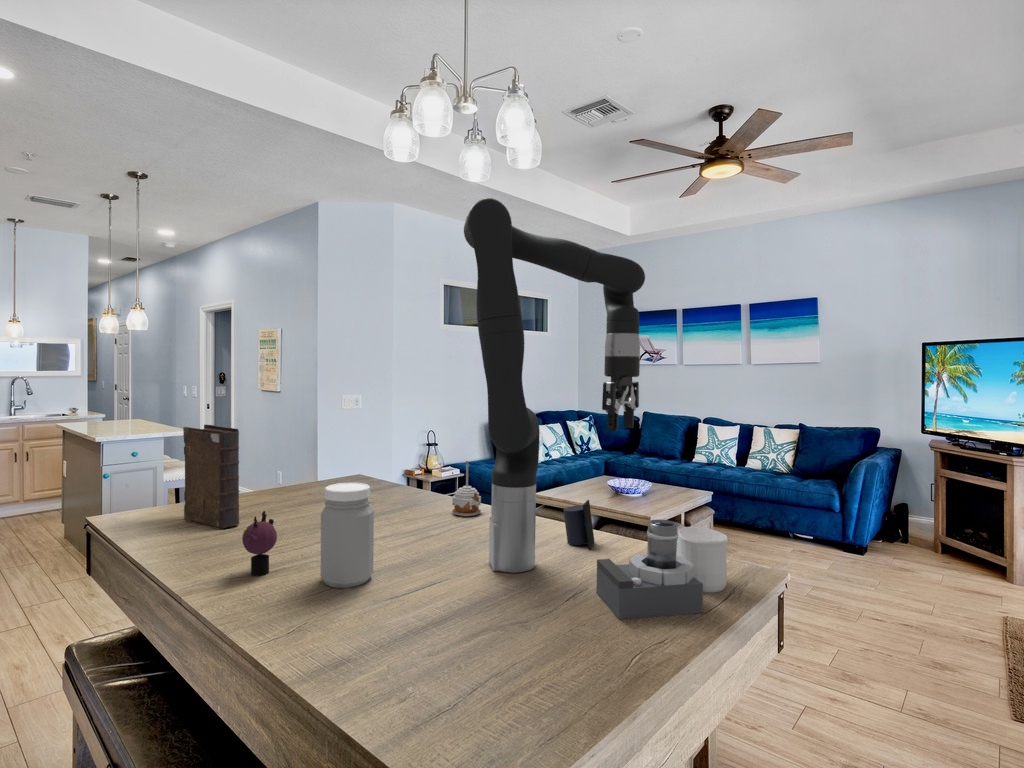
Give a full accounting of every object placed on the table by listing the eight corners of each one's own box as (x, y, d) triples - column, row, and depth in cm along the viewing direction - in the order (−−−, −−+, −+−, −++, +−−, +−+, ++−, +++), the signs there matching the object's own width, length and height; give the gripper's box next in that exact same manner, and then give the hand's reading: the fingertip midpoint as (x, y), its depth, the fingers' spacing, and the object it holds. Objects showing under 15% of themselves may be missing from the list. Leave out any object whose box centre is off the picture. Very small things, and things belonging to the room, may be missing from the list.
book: (242, 526, 144) (242, 428, 143) (213, 532, 138) (213, 430, 137) (209, 515, 154) (209, 423, 153) (182, 521, 148) (181, 425, 147)
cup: (701, 597, 103) (703, 544, 102) (663, 579, 112) (664, 530, 111) (738, 588, 107) (740, 537, 107) (698, 571, 116) (700, 524, 116)
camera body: (618, 619, 93) (619, 576, 93) (596, 592, 104) (597, 555, 104) (703, 612, 96) (704, 572, 96) (673, 588, 107) (674, 551, 107)
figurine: (273, 563, 117) (273, 505, 117) (289, 573, 111) (289, 513, 111) (232, 572, 111) (232, 512, 111) (246, 584, 106) (247, 520, 105)
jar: (383, 574, 112) (383, 483, 111) (353, 592, 103) (354, 494, 102) (341, 568, 115) (341, 480, 114) (309, 585, 106) (309, 489, 105)
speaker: (602, 543, 133) (598, 499, 133) (590, 550, 129) (585, 505, 129) (575, 540, 138) (571, 497, 138) (562, 546, 133) (558, 503, 133)
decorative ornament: (479, 518, 155) (480, 463, 155) (451, 517, 155) (451, 463, 155) (481, 511, 163) (482, 459, 163) (454, 510, 163) (455, 458, 163)
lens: (653, 579, 97) (655, 526, 97) (640, 569, 102) (642, 518, 102) (682, 578, 98) (684, 526, 98) (668, 567, 103) (669, 518, 103)
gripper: (625, 354, 115) (623, 433, 116) (650, 355, 127) (649, 428, 127) (592, 354, 119) (590, 430, 120) (619, 355, 131) (618, 425, 132)
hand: (620, 429), depth 124 cm, fingers open, 8 cm apart
